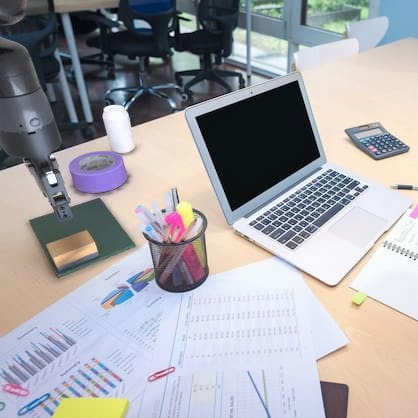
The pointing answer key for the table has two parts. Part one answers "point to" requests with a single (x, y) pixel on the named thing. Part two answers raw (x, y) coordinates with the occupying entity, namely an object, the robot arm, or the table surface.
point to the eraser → (72, 250)
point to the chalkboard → (84, 220)
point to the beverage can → (118, 129)
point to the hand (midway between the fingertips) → (58, 207)
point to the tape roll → (98, 171)
